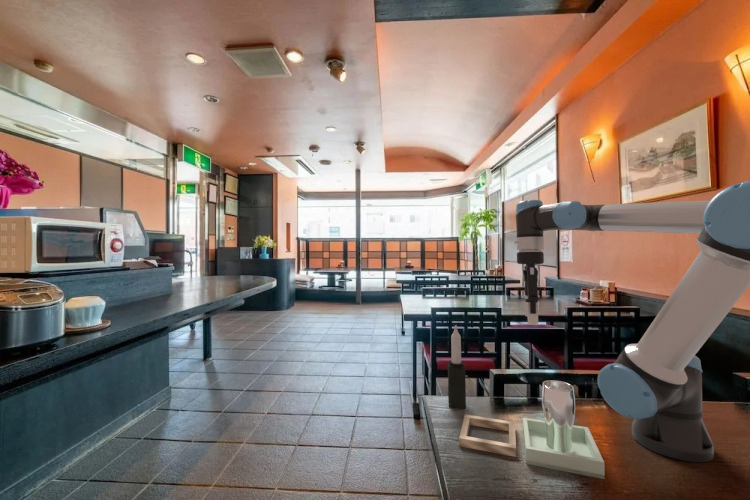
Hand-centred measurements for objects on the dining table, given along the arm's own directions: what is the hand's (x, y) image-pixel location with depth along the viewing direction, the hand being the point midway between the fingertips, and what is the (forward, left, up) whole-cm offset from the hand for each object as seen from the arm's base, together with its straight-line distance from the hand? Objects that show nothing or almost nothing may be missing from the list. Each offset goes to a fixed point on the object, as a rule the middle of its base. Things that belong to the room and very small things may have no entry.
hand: (531, 320), depth 103 cm
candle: (+22, +6, -27) cm, 35 cm away
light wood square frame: (+12, +22, -27) cm, 37 cm away
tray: (-4, +23, -27) cm, 35 cm away
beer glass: (-4, +23, -26) cm, 35 cm away
